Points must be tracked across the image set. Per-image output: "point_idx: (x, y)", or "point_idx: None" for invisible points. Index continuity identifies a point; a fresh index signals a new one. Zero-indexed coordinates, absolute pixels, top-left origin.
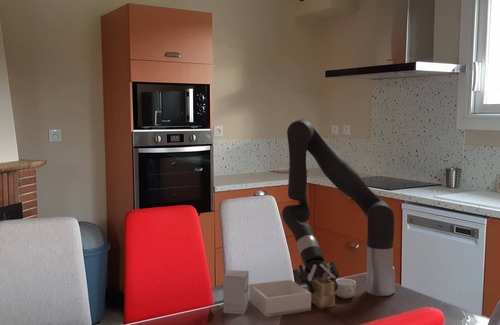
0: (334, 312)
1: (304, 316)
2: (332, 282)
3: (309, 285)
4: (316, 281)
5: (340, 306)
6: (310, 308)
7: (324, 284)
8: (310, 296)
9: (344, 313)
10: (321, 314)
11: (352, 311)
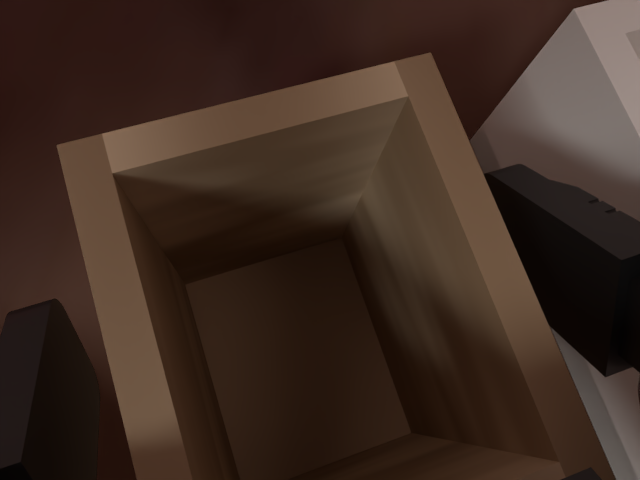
0: (221, 74)
1: (541, 8)
2: (110, 189)
3: (631, 224)
4: (505, 296)
5: None
6: (484, 127)
7: (340, 75)
8: (553, 40)
9: (118, 38)
10: (370, 37)
11: (4, 82)
